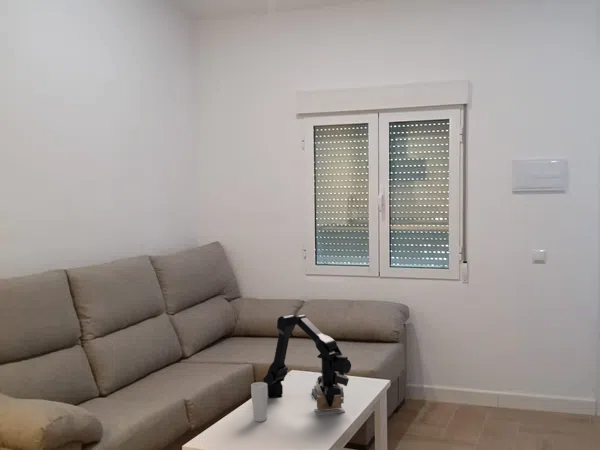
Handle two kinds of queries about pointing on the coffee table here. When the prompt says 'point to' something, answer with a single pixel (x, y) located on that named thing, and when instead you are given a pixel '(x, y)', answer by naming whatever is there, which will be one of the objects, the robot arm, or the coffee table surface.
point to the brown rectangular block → (324, 405)
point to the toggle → (318, 385)
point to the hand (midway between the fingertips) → (329, 405)
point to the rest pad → (329, 411)
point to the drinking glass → (259, 400)
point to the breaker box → (319, 392)
